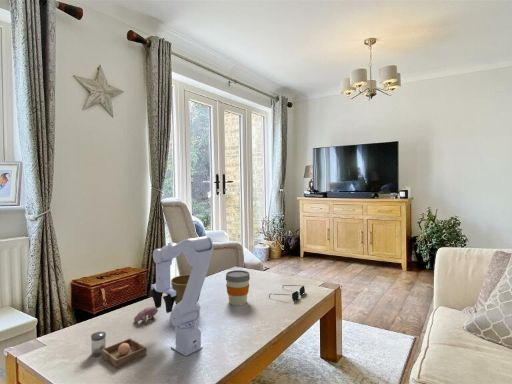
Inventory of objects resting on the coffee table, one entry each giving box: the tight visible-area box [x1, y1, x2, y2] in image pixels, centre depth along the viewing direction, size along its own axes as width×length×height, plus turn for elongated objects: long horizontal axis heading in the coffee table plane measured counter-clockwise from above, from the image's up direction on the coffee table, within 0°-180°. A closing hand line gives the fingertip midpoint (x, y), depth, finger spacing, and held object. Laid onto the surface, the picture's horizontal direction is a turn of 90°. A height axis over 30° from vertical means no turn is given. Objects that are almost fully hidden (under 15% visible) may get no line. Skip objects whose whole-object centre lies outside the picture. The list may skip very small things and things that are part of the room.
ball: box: [118, 343, 130, 355], centre depth 115 cm, size 4×4×4 cm
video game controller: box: [133, 305, 159, 323], centre depth 145 cm, size 10×5×7 cm, turn 143°
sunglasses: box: [268, 284, 306, 302], centre depth 177 cm, size 17×15×5 cm
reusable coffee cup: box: [225, 269, 251, 306], centre depth 166 cm, size 13×13×15 cm
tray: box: [101, 337, 147, 369], centre depth 115 cm, size 11×11×3 cm
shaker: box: [90, 331, 107, 358], centre depth 117 cm, size 5×5×7 cm
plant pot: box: [170, 274, 202, 305], centre depth 154 cm, size 15×15×16 cm
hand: (163, 309), depth 132 cm, fingers open, 7 cm apart
